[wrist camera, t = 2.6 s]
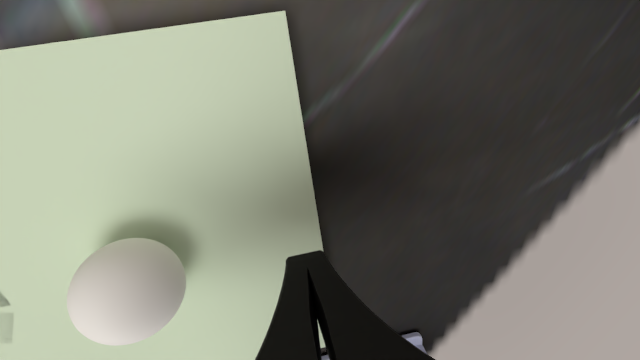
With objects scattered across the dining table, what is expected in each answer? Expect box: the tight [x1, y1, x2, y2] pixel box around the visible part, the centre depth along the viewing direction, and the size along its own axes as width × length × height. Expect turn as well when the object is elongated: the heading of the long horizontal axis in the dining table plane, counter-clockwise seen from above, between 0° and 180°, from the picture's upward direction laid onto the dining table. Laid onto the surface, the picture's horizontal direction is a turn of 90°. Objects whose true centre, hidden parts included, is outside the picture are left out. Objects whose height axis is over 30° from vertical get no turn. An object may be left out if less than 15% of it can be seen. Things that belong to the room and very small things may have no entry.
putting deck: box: [0, 11, 326, 360], centre depth 15 cm, size 24×18×2 cm
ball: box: [67, 238, 186, 346], centre depth 12 cm, size 4×4×4 cm
